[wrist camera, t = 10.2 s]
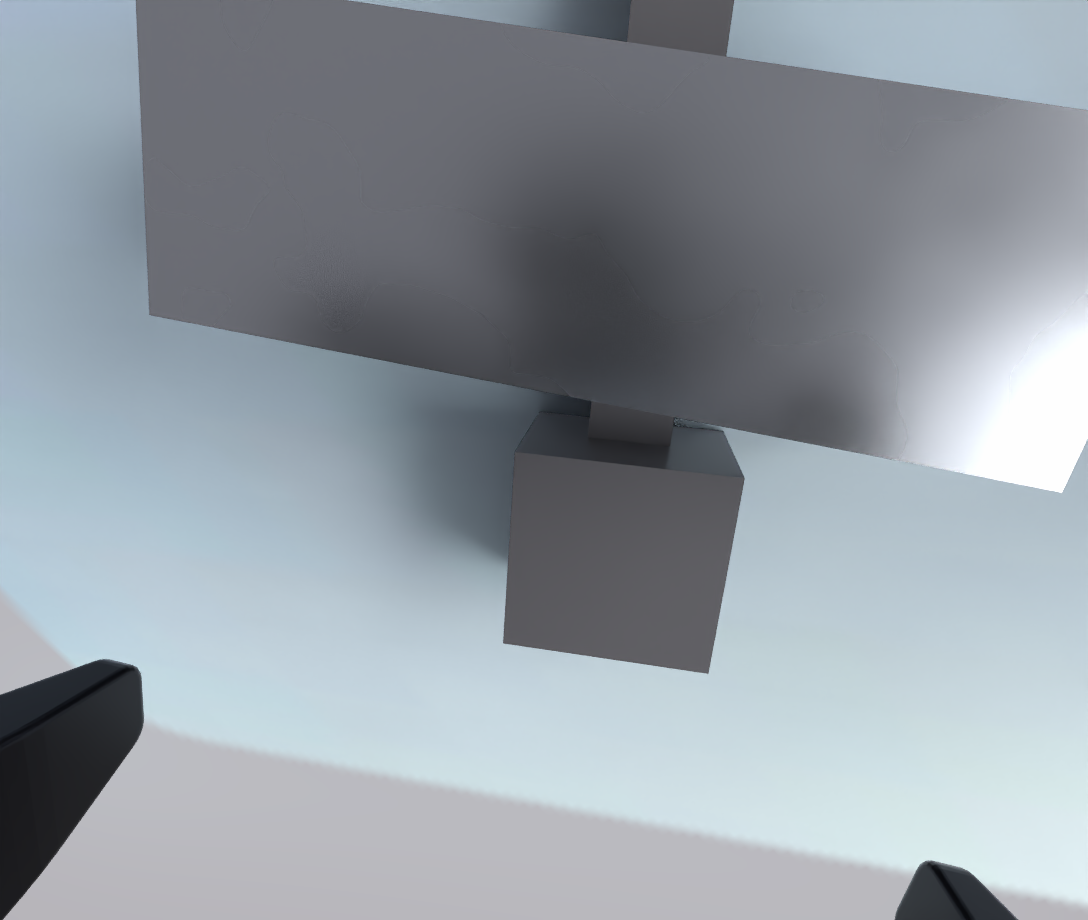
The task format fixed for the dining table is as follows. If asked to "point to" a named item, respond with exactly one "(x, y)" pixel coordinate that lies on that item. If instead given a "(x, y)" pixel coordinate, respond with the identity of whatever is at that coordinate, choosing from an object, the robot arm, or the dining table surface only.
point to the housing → (627, 225)
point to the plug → (626, 492)
